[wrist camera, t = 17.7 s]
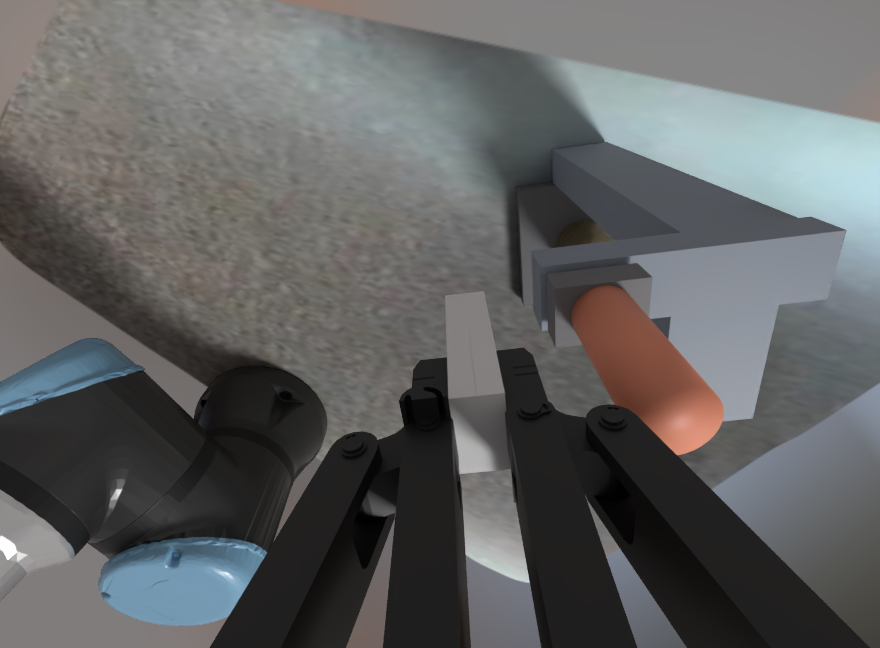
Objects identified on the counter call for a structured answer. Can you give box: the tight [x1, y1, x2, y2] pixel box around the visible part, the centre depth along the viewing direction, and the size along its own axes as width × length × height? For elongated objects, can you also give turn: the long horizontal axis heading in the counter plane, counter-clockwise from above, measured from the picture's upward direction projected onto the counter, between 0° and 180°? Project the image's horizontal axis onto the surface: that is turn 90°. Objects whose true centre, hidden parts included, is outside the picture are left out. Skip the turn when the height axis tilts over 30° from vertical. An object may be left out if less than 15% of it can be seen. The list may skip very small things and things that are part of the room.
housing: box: [556, 220, 615, 248], centre depth 41 cm, size 5×5×13 cm
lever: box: [547, 263, 724, 455], centre depth 16 cm, size 4×3×8 cm
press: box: [516, 142, 847, 421], centre depth 35 cm, size 15×15×28 cm
